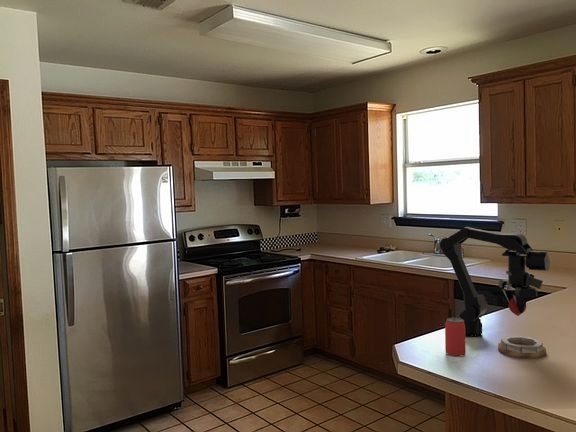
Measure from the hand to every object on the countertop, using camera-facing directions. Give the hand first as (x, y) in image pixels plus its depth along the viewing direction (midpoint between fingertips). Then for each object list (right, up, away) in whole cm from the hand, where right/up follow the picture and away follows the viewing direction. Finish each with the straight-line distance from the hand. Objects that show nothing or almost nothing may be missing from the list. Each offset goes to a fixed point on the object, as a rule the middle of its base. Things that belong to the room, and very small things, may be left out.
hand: (517, 311), depth 177 cm
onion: (0, -2, 0) cm, 2 cm away
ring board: (-2, -12, -8) cm, 15 cm away
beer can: (-25, -13, -9) cm, 30 cm away
